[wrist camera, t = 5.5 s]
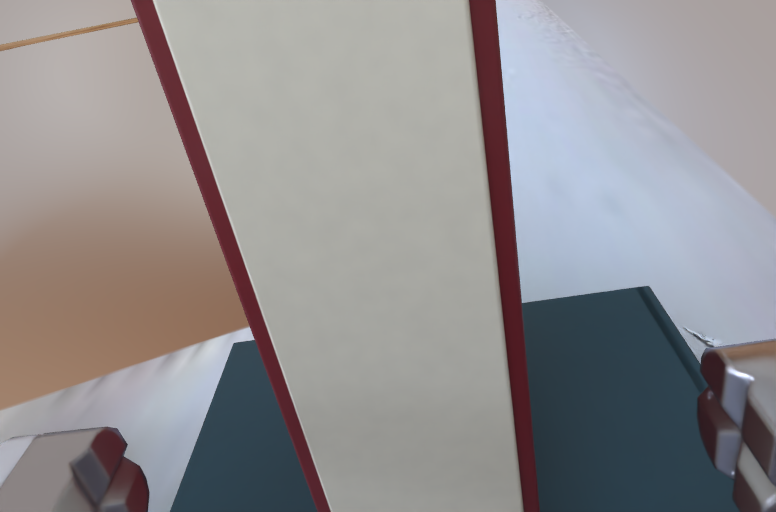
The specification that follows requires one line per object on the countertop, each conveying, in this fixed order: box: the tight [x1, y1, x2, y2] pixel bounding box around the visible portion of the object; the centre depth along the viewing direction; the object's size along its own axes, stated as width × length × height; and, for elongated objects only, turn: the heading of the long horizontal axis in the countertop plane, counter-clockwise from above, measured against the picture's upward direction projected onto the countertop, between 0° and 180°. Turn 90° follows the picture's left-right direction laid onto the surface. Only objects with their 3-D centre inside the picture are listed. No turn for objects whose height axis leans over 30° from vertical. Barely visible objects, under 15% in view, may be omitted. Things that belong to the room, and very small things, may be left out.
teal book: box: [170, 286, 739, 512], centre depth 19 cm, size 16×13×3 cm
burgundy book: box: [131, 0, 540, 512], centre depth 14 cm, size 4×11×14 cm, turn 179°
